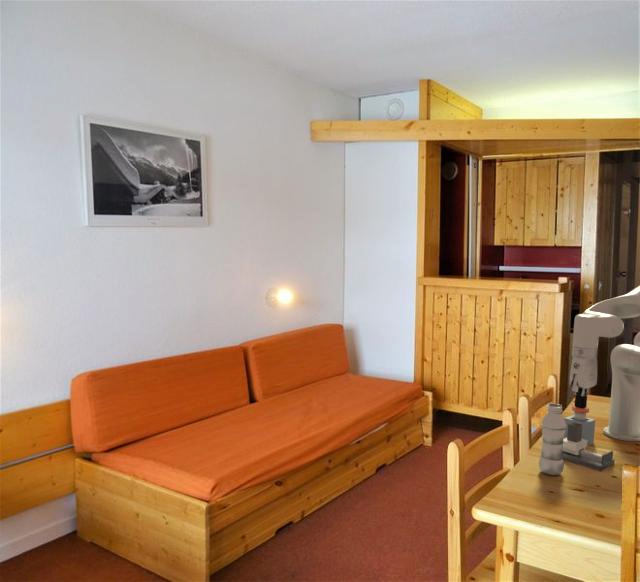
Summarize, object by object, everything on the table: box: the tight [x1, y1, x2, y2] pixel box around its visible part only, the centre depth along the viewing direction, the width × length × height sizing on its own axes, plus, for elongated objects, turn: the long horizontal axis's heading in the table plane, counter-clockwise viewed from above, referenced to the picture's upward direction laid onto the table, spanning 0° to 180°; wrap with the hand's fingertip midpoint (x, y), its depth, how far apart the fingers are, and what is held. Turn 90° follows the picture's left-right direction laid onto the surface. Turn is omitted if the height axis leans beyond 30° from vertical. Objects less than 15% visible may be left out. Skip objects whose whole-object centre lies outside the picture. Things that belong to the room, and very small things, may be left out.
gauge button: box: [571, 404, 590, 422], centre depth 197 cm, size 5×5×5 cm
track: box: [563, 449, 616, 472], centre depth 182 cm, size 9×14×4 cm, turn 40°
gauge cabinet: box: [563, 414, 596, 447], centre depth 198 cm, size 8×7×8 cm
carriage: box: [562, 422, 588, 455], centre depth 184 cm, size 7×5×8 cm
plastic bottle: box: [538, 403, 566, 476], centre depth 170 cm, size 6×7×20 cm
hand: (580, 407), depth 197 cm, fingers closed
